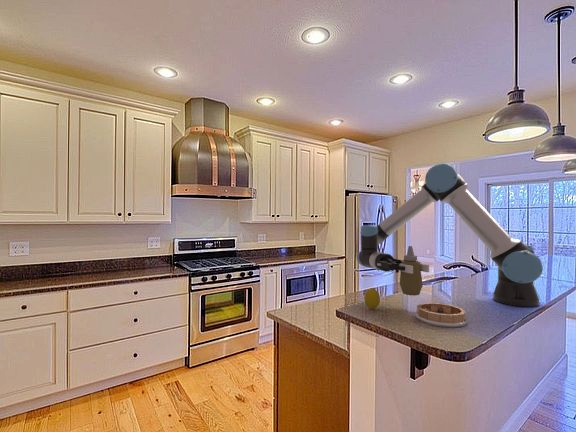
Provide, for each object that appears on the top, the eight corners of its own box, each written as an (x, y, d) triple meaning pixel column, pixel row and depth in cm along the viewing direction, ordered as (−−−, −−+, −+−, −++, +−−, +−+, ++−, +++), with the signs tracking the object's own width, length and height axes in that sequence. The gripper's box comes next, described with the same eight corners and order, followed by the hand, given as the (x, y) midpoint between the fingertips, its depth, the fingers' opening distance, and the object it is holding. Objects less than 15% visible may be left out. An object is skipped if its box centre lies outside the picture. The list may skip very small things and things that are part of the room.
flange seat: (440, 311, 112) (440, 301, 112) (477, 324, 97) (477, 313, 97) (406, 315, 107) (406, 304, 107) (439, 329, 93) (439, 317, 93)
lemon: (369, 312, 110) (369, 290, 110) (361, 308, 116) (361, 286, 116) (383, 311, 112) (382, 289, 112) (374, 307, 117) (374, 285, 117)
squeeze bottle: (401, 296, 113) (400, 246, 113) (398, 291, 120) (397, 245, 121) (424, 297, 111) (423, 247, 111) (420, 292, 119) (419, 245, 119)
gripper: (401, 269, 136) (442, 277, 114) (362, 271, 130) (398, 281, 108) (400, 252, 136) (441, 257, 114) (362, 253, 130) (397, 260, 108)
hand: (420, 269), depth 111 cm, fingers closed on squeeze bottle, 6 cm apart
